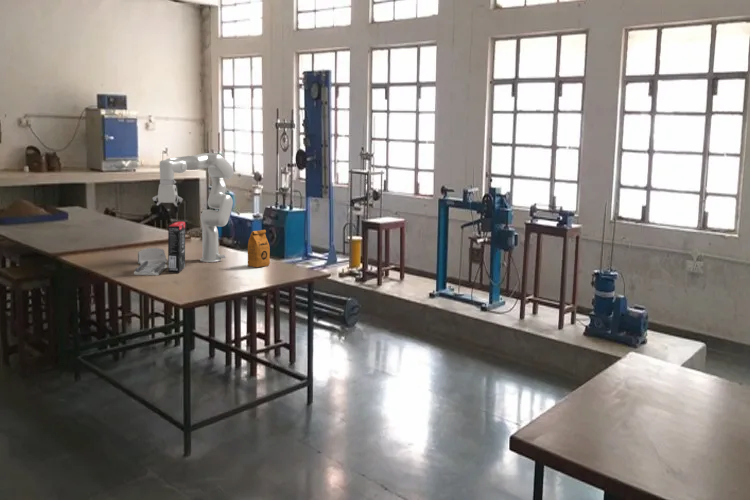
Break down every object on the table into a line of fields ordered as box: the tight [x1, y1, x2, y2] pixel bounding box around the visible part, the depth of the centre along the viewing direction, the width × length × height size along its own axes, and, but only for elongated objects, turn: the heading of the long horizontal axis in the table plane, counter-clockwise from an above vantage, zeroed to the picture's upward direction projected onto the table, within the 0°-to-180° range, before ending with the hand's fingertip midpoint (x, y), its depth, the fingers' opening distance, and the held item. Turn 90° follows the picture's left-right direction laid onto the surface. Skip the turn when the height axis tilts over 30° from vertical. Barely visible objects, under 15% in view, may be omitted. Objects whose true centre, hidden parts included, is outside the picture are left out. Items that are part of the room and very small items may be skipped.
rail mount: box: [133, 261, 168, 276], centre depth 386 cm, size 13×22×4 cm, turn 4°
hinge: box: [137, 247, 168, 266], centre depth 408 cm, size 17×5×10 cm, turn 127°
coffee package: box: [247, 229, 271, 268], centre depth 408 cm, size 10×12×22 cm
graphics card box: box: [167, 221, 186, 274], centre depth 388 cm, size 17×7×27 cm, turn 5°
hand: (168, 212), depth 385 cm, fingers open, 9 cm apart
